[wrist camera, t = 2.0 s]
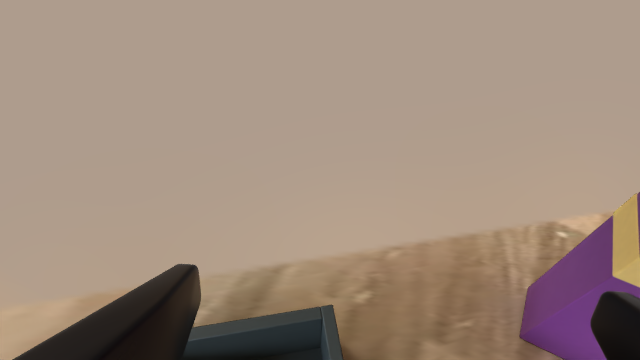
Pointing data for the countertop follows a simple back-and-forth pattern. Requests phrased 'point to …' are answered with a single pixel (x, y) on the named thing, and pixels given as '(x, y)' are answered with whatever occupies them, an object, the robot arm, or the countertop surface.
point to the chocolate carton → (584, 286)
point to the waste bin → (269, 338)
